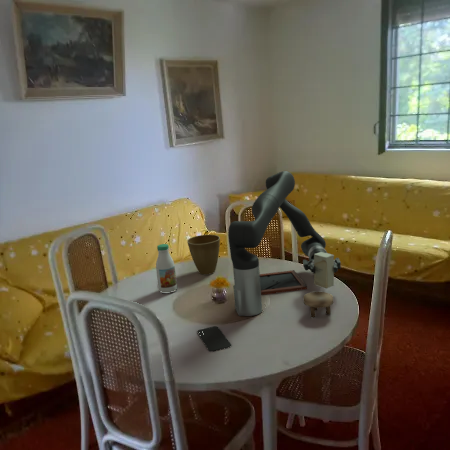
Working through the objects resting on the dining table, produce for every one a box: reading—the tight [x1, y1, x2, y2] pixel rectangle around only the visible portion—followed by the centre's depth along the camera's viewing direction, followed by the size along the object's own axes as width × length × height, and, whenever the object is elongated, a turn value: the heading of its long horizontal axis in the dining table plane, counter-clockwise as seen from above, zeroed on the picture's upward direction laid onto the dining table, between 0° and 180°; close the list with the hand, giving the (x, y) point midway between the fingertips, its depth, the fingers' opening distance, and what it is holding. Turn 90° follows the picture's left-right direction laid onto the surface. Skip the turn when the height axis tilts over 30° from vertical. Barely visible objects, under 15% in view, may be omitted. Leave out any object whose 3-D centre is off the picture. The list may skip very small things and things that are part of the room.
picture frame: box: [260, 269, 308, 296], centre depth 184 cm, size 20×2×25 cm
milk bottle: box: [155, 243, 178, 292], centre depth 184 cm, size 8×8×20 cm
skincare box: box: [313, 252, 335, 289], centre depth 165 cm, size 6×4×12 cm
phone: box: [196, 325, 232, 352], centre depth 143 cm, size 7×1×15 cm
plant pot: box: [186, 234, 221, 276], centre depth 203 cm, size 15×15×16 cm
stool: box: [302, 291, 334, 319], centre depth 153 cm, size 10×10×6 cm
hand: (324, 270), depth 163 cm, fingers closed on skincare box, 7 cm apart
